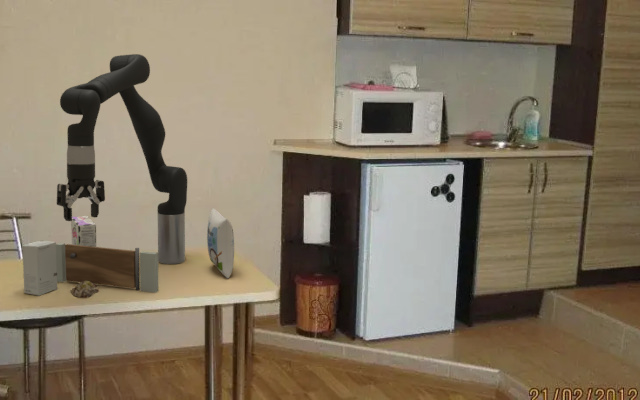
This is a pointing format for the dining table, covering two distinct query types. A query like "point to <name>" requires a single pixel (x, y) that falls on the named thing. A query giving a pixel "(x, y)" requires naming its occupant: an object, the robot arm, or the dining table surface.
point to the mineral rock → (84, 289)
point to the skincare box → (39, 267)
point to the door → (100, 265)
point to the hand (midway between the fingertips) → (81, 218)
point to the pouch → (220, 242)
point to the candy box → (83, 231)
